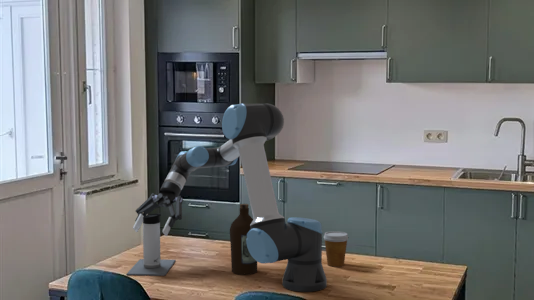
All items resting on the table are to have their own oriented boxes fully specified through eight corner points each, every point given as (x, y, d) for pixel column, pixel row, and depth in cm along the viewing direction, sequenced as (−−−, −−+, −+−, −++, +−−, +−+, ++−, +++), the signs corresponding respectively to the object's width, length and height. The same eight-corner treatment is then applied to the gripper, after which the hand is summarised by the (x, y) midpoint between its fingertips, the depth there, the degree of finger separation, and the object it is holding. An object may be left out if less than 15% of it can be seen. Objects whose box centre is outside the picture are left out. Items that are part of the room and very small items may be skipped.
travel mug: (159, 268, 245) (159, 215, 243) (142, 268, 245) (141, 215, 243) (162, 264, 251) (162, 212, 249) (145, 264, 251) (144, 212, 249)
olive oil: (224, 270, 245) (224, 203, 243) (249, 266, 251) (248, 200, 249) (239, 277, 236) (239, 208, 234) (264, 272, 242) (264, 205, 240)
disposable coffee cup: (347, 261, 257) (348, 231, 256) (348, 268, 248) (348, 236, 246) (323, 261, 258) (323, 230, 257) (322, 267, 249) (323, 236, 247)
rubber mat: (165, 275, 238) (165, 274, 238) (126, 275, 239) (126, 273, 239) (175, 261, 258) (175, 259, 258) (140, 260, 259) (139, 259, 259)
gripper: (203, 194, 255) (181, 240, 243) (151, 189, 266) (127, 233, 255) (195, 182, 250) (172, 229, 238) (142, 178, 261) (118, 222, 249)
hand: (149, 231), depth 246 cm, fingers open, 13 cm apart
